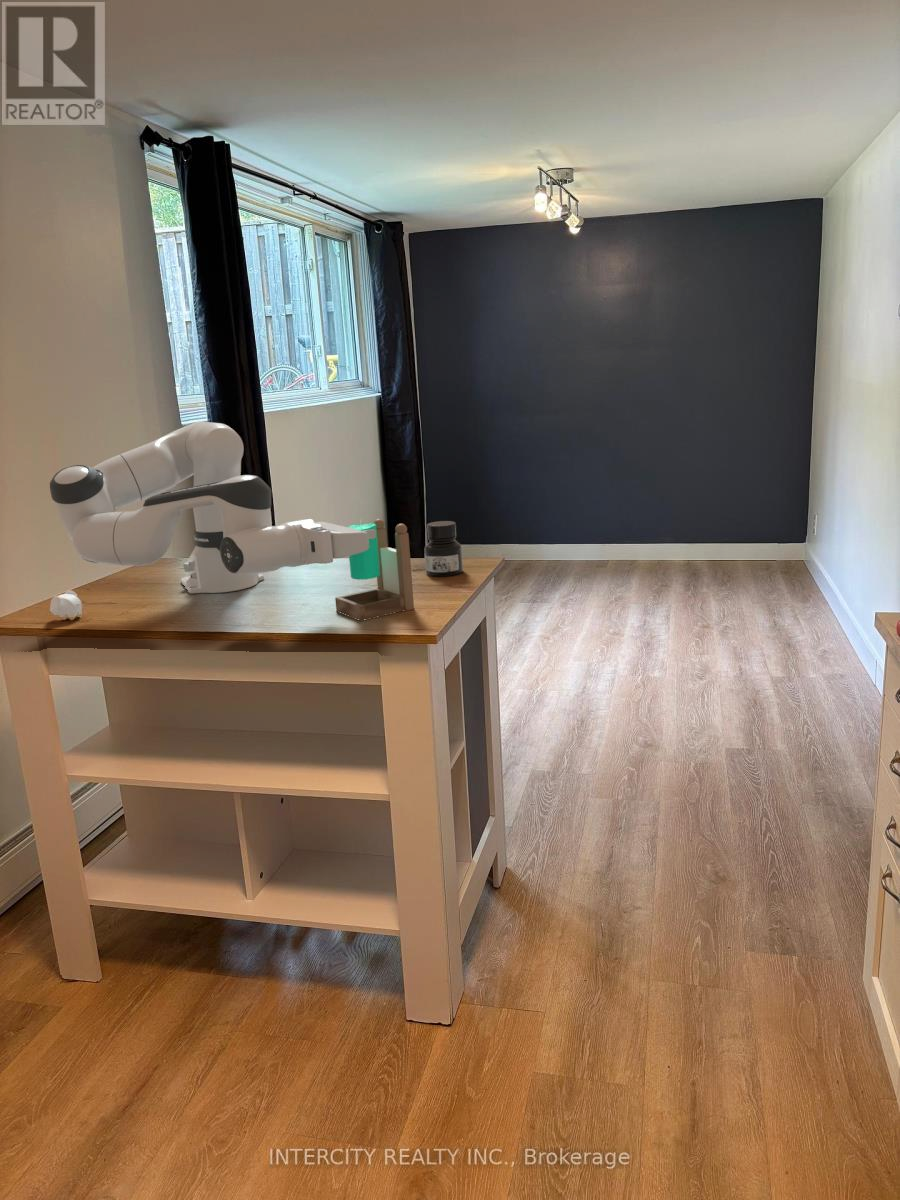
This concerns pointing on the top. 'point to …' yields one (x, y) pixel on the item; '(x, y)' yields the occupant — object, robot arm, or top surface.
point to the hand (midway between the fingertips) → (366, 531)
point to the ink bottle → (443, 550)
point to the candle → (365, 558)
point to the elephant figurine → (66, 604)
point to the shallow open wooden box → (370, 603)
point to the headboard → (395, 563)
